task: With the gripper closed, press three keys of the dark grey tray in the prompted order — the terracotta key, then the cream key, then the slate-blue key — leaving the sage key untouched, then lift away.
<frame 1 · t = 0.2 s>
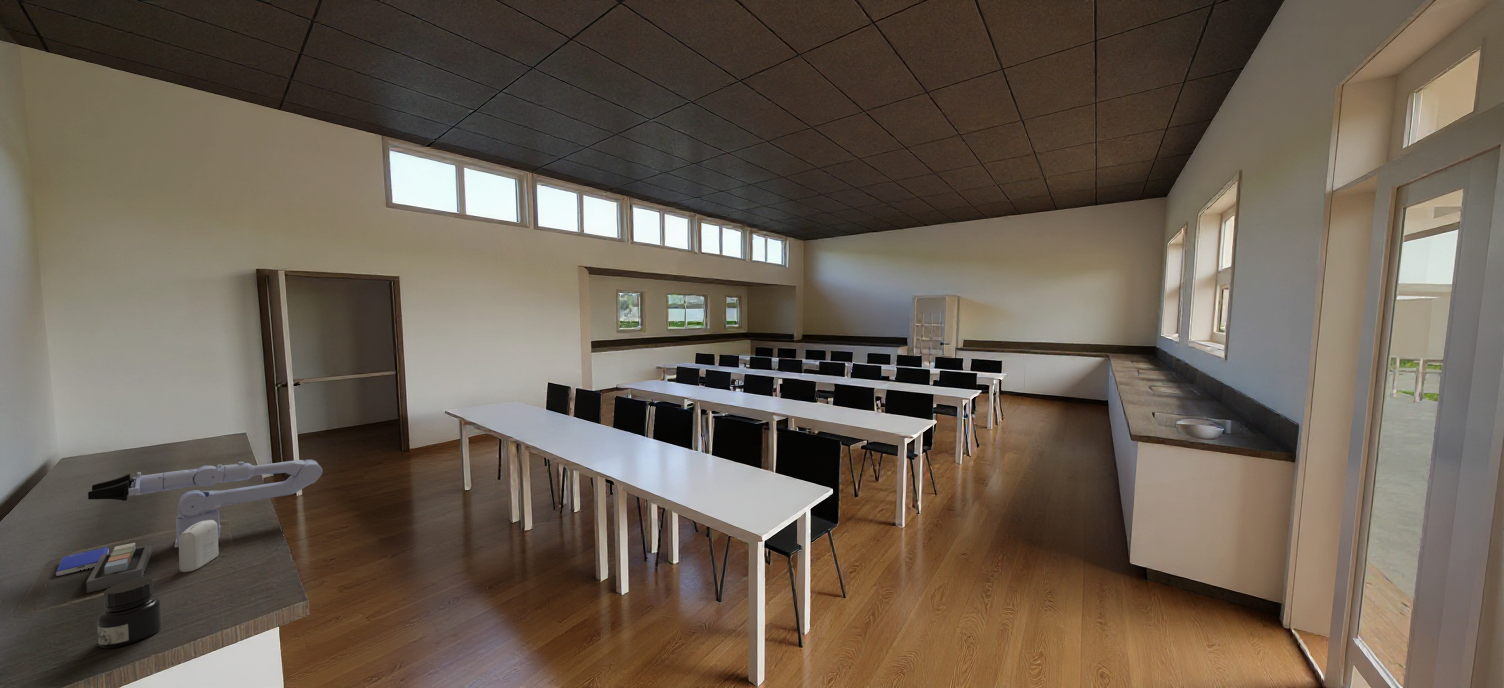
hand: (90, 492, 140), 21 cm above the counter, tool horizontal, fingers open, 7 cm apart
dark grey tray: (121, 572, 136), on the counter
hard drive: (84, 564, 140), on the counter, touching dark grey tray
ink bottle: (131, 637, 109), on the counter
slate key: (116, 567, 131), point 4 cm above the counter, slide at 0.0 cm
terracotta key: (119, 561, 134), point 4 cm above the counter, slide at 0.0 cm
sage key: (122, 556, 138), point 4 cm above the counter, slide at 0.0 cm
cream key: (124, 550, 141), point 4 cm above the counter, slide at 0.0 cm
photo printer: (200, 564, 141), on the counter
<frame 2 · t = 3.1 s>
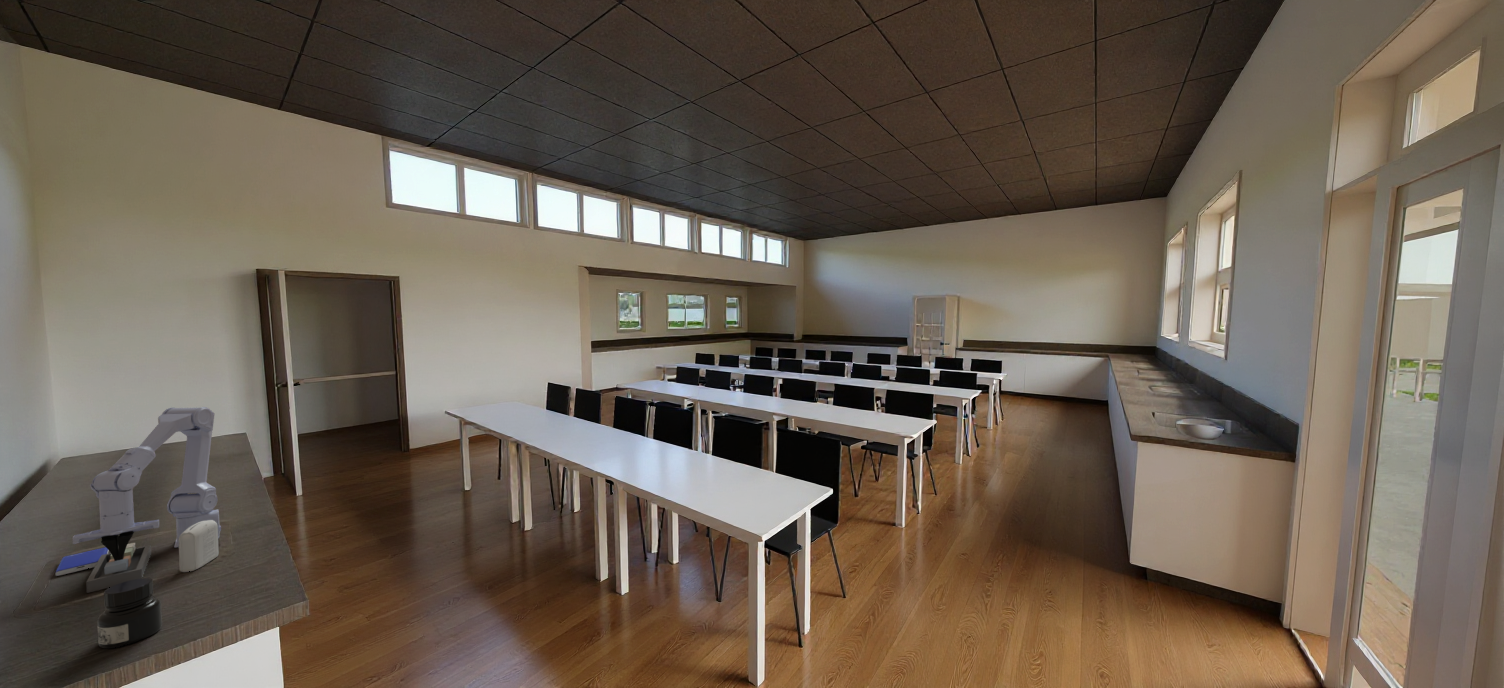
hand: (119, 559, 134), 4 cm above the counter, tool pointing down, fingers closed, pressing on terracotta key
terracotta key: (119, 564, 134), point 3 cm above the counter, slide at 0.7 cm, touching gripper
everything else where it was.
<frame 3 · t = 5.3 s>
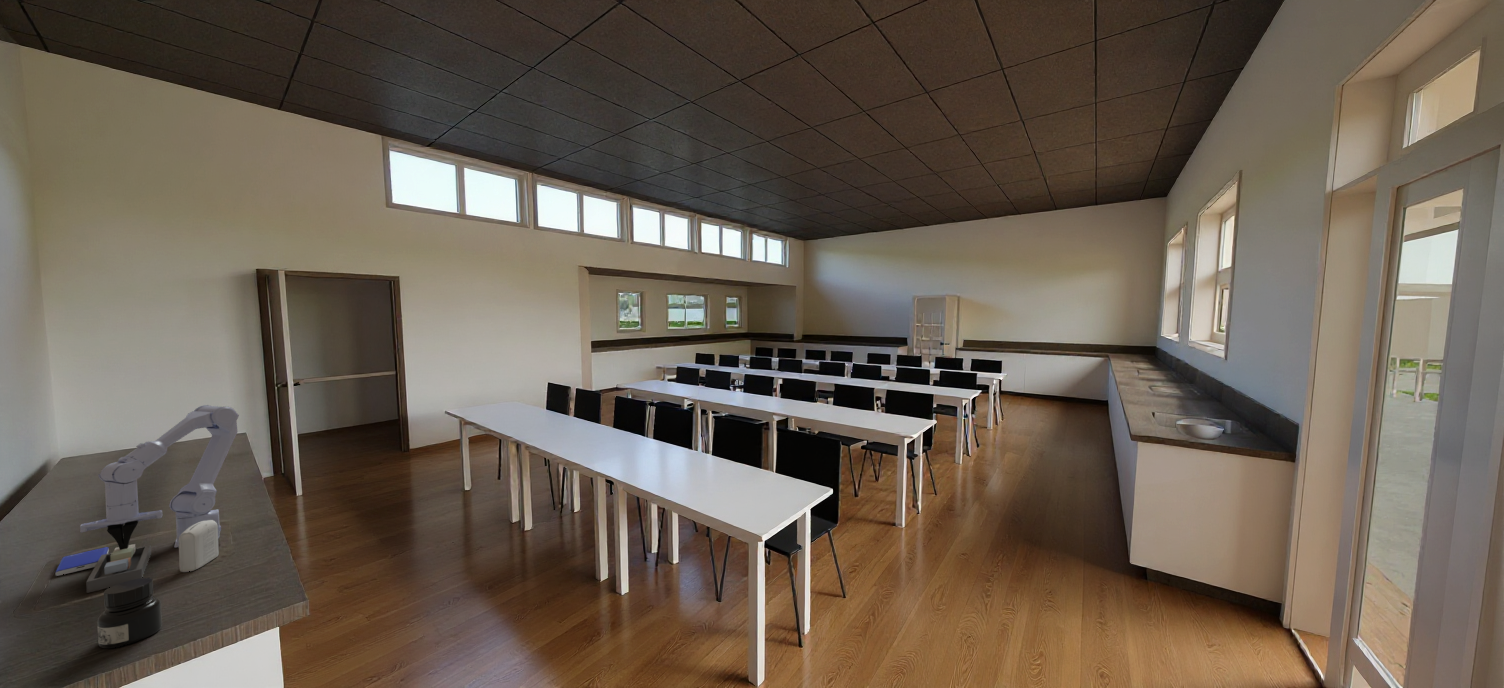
hand: (124, 548, 141), 5 cm above the counter, tool pointing down, fingers closed, pressing on cream key
terracotta key: (119, 566, 134), point 3 cm above the counter, slide at 1.3 cm
cream key: (124, 552, 141), point 3 cm above the counter, slide at 0.4 cm, touching gripper
everything else where it was.
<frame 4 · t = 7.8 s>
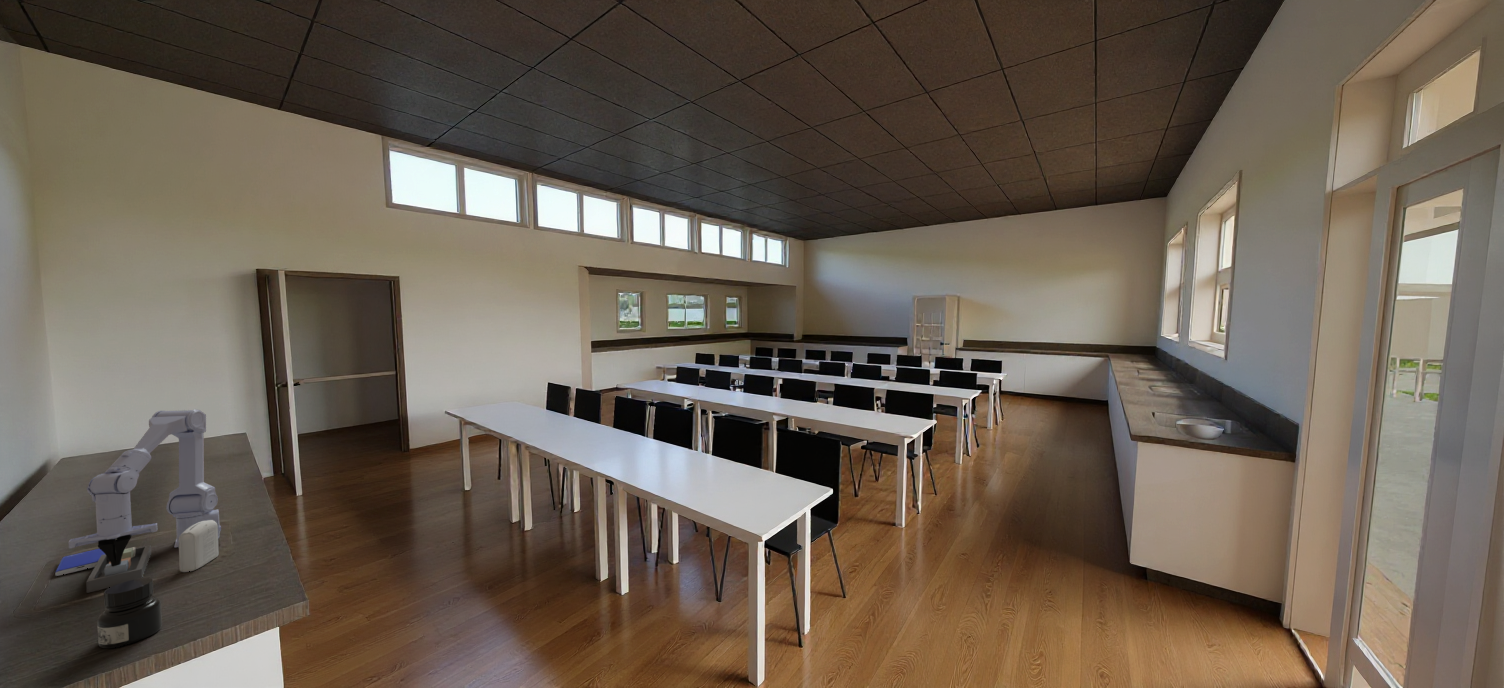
hand: (116, 564, 131), 5 cm above the counter, tool pointing down, fingers closed, pressing on slate key
slate key: (116, 569, 131), point 3 cm above the counter, slide at 0.4 cm, touching gripper
cream key: (124, 555, 141), point 3 cm above the counter, slide at 1.3 cm
everything else where it was.
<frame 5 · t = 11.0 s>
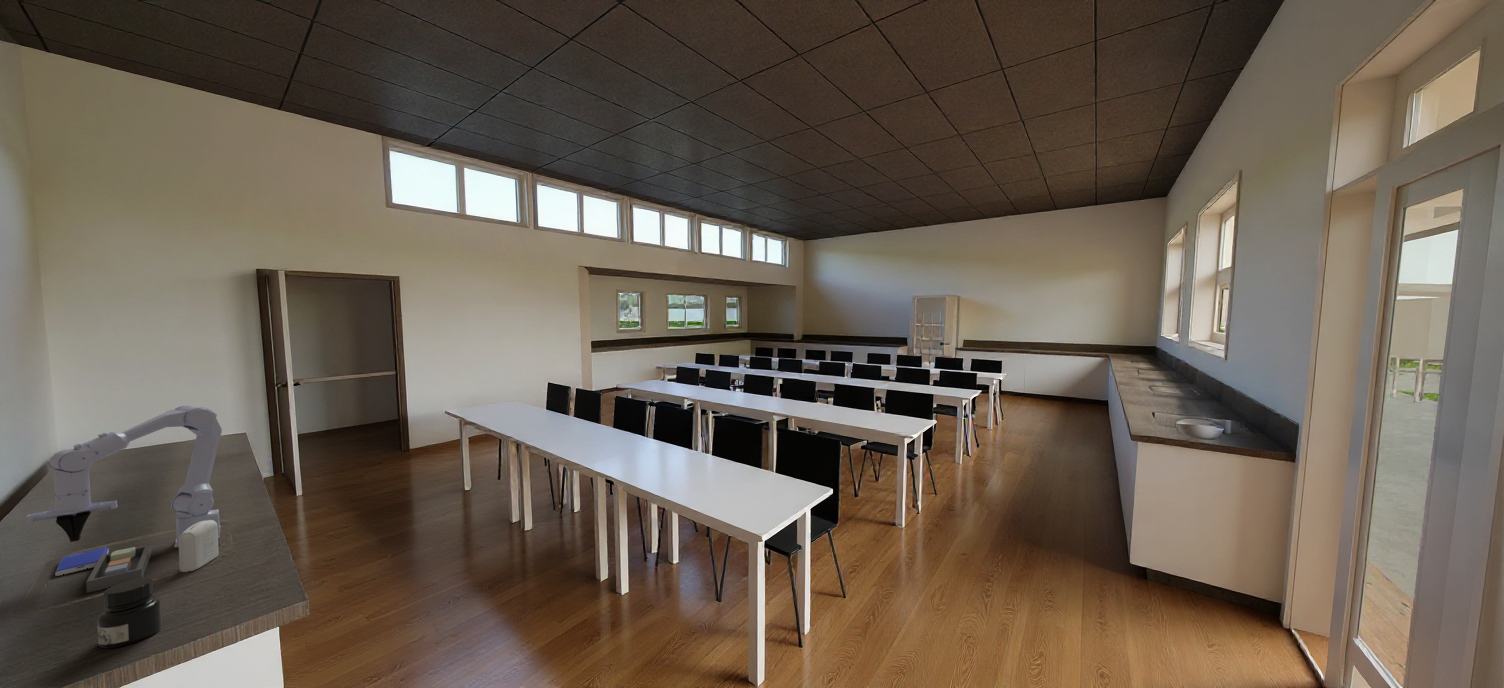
hand: (75, 540, 133), 10 cm above the counter, tool pointing down, fingers closed
slate key: (116, 572, 131), point 3 cm above the counter, slide at 1.3 cm
everything else where it was.
at the end: terracotta key slide at 1.3 cm; cream key slide at 1.3 cm; slate key slide at 1.3 cm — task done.
